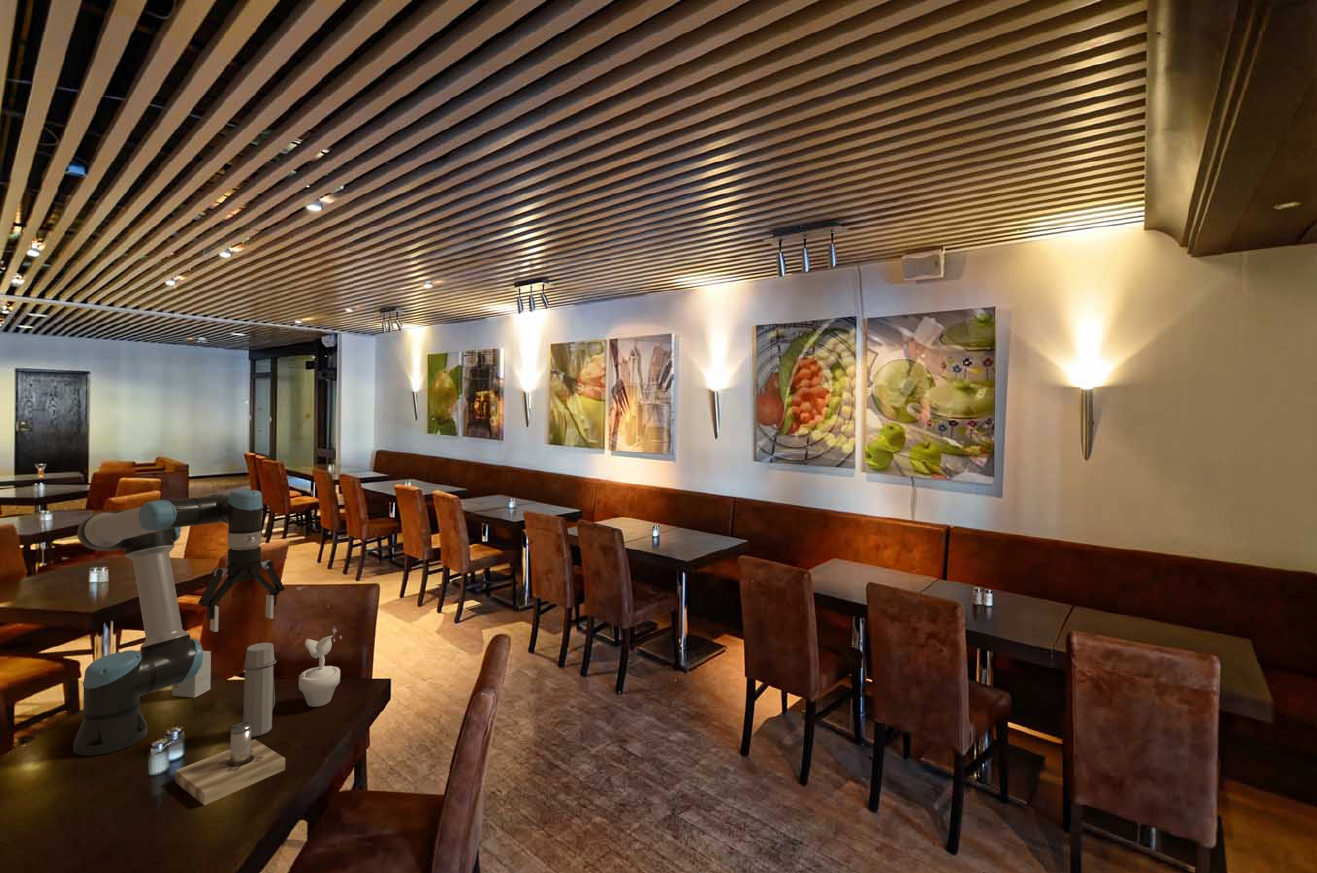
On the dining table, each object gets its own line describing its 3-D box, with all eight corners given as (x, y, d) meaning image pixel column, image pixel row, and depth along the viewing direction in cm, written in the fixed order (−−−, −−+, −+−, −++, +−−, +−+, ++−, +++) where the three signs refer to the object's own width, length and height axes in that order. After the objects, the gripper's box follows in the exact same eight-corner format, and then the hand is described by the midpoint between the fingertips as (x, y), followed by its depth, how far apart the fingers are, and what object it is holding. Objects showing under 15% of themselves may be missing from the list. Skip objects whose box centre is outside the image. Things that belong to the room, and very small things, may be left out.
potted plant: (346, 701, 194) (349, 624, 194) (310, 715, 185) (312, 634, 184) (325, 690, 201) (327, 617, 201) (289, 703, 191) (291, 626, 191)
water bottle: (258, 740, 169) (260, 652, 169) (234, 736, 171) (237, 649, 170) (284, 724, 178) (286, 641, 178) (262, 721, 180) (264, 638, 179)
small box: (210, 689, 199) (211, 650, 199) (194, 698, 193) (195, 658, 192) (188, 687, 200) (189, 649, 200) (171, 696, 193) (172, 656, 193)
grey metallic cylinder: (226, 773, 153) (227, 727, 153) (245, 765, 157) (246, 720, 157) (234, 779, 151) (235, 732, 151) (253, 771, 155) (254, 725, 155)
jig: (175, 782, 149) (175, 770, 149) (254, 750, 164) (254, 739, 164) (204, 805, 140) (204, 793, 140) (285, 769, 156) (285, 758, 156)
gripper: (197, 556, 151) (195, 639, 151) (299, 542, 172) (297, 615, 173) (184, 552, 155) (182, 633, 155) (285, 538, 176) (283, 610, 177)
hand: (242, 624), depth 164 cm, fingers open, 13 cm apart
